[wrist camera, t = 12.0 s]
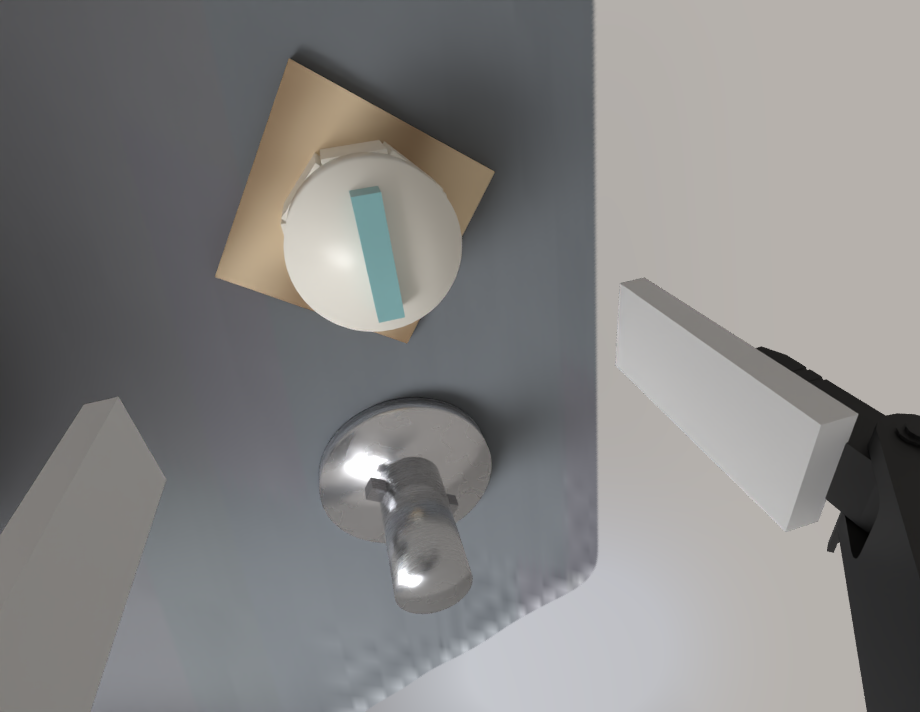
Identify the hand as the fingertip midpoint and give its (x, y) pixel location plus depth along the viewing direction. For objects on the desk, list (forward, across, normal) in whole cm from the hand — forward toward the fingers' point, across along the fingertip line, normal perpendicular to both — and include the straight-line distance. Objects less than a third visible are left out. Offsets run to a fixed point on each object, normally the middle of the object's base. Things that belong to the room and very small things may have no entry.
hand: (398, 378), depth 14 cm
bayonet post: (+16, 0, -18) cm, 24 cm away
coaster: (+16, 0, 0) cm, 16 cm away
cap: (+15, +1, 0) cm, 15 cm away
